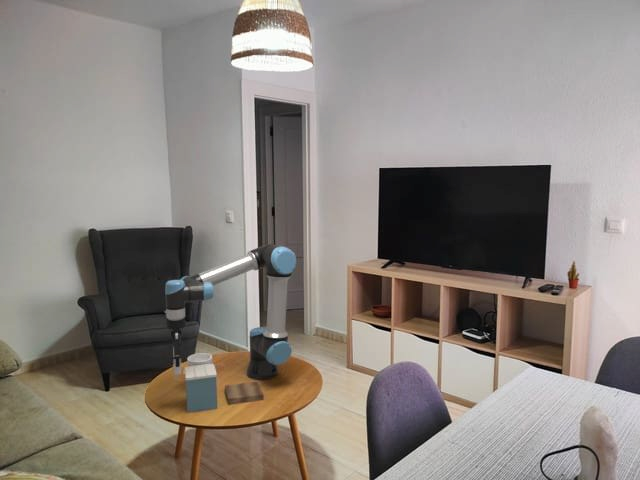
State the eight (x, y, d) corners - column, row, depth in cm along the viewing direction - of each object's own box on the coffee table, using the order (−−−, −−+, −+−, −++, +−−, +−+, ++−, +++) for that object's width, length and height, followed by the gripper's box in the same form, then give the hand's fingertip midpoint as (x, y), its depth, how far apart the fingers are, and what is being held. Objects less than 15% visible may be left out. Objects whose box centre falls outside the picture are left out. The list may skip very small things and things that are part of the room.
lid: (214, 369, 217) (213, 355, 216) (217, 380, 205) (216, 366, 204) (173, 373, 212) (172, 360, 211) (173, 385, 200) (173, 371, 199)
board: (257, 386, 228) (257, 381, 228) (263, 399, 215) (263, 394, 215) (224, 391, 224) (224, 385, 223) (228, 404, 210) (228, 399, 210)
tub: (214, 396, 218) (213, 365, 217) (217, 408, 207) (216, 376, 205) (186, 400, 215) (185, 369, 213) (187, 412, 204) (186, 380, 202)
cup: (183, 389, 225) (181, 359, 223) (197, 380, 235) (196, 351, 234) (204, 393, 221) (202, 363, 219) (217, 383, 231) (217, 354, 229)
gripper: (165, 310, 214) (167, 357, 216) (166, 327, 190) (168, 380, 193) (183, 309, 216) (185, 356, 219) (186, 325, 192) (188, 378, 195)
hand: (177, 367), depth 206 cm, fingers open, 13 cm apart
